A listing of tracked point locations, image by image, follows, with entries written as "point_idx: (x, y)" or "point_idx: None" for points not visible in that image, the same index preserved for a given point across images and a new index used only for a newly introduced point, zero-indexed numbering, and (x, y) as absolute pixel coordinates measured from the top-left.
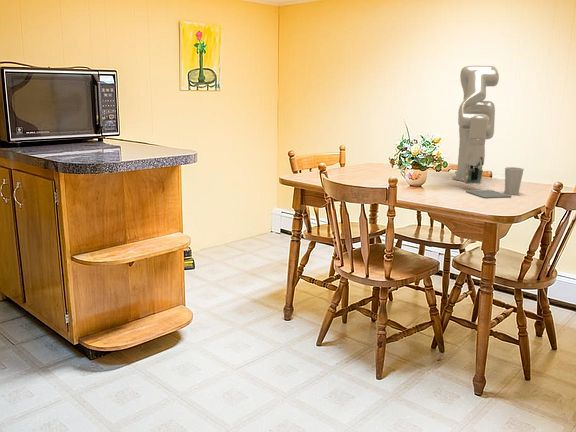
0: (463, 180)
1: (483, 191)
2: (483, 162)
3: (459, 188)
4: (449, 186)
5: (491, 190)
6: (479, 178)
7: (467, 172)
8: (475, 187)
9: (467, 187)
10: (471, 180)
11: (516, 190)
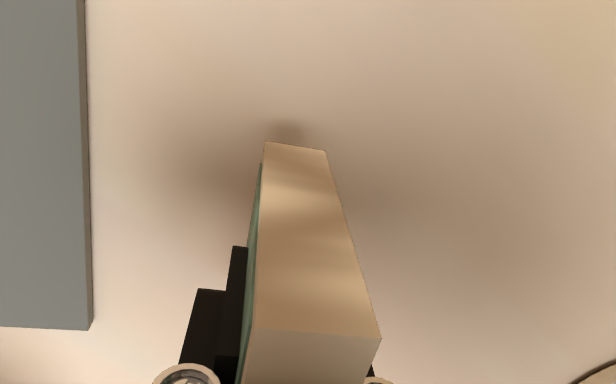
0: (597, 379)
1: (3, 195)
2: None
3: (368, 105)
4: (527, 79)
5: (65, 317)
6: None
7: (280, 256)
8: None
9: (375, 237)
10: (248, 245)
11: None
